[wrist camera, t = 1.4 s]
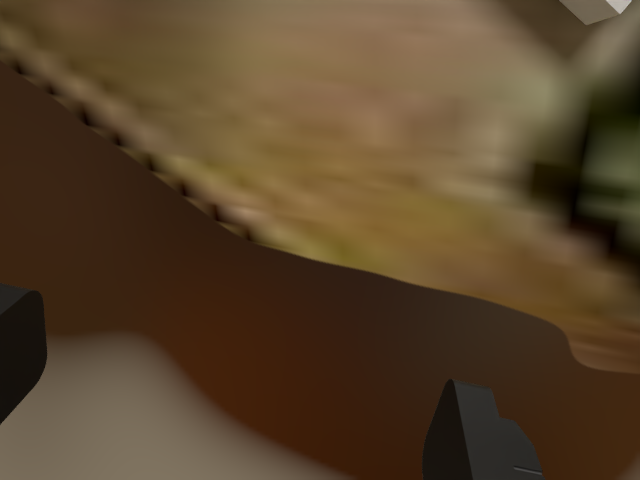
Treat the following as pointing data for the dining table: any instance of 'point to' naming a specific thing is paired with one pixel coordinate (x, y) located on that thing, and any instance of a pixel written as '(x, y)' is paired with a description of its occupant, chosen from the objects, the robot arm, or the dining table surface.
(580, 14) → the decorative molding
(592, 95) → the dining table surface
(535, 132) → the dining table surface
